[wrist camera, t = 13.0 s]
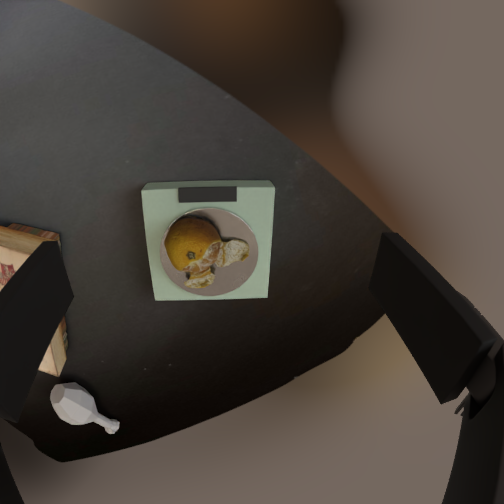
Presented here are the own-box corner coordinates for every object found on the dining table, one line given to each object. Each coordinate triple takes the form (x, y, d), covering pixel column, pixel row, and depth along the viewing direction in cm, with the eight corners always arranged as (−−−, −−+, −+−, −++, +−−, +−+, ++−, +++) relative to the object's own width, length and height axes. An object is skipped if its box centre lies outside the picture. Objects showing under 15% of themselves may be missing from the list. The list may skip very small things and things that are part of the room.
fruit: (198, 292, 36) (198, 311, 32) (147, 244, 32) (141, 261, 29) (254, 250, 34) (258, 267, 31) (203, 195, 30) (202, 207, 27)
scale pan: (155, 207, 31) (155, 209, 30) (260, 205, 32) (260, 207, 32) (165, 294, 36) (165, 297, 35) (256, 291, 37) (256, 294, 37)
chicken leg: (98, 421, 55) (108, 450, 49) (41, 386, 43) (46, 420, 37) (124, 405, 57) (136, 434, 51) (69, 366, 45) (76, 401, 39)
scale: (146, 181, 32) (140, 189, 30) (270, 179, 34) (275, 187, 31) (158, 287, 39) (154, 301, 36) (263, 284, 41) (267, 298, 38)
